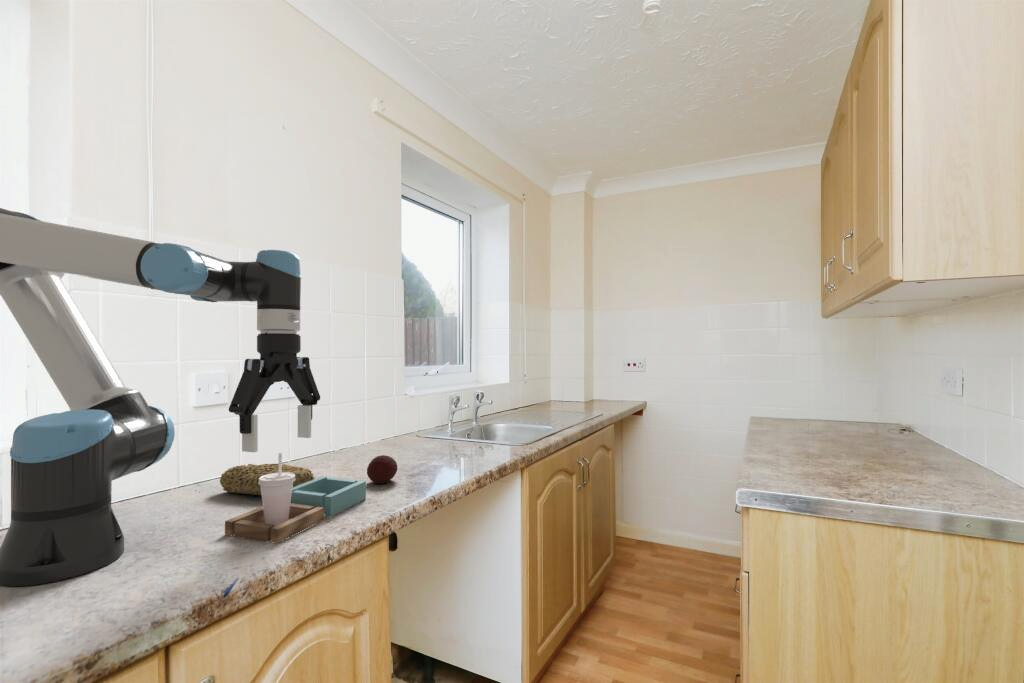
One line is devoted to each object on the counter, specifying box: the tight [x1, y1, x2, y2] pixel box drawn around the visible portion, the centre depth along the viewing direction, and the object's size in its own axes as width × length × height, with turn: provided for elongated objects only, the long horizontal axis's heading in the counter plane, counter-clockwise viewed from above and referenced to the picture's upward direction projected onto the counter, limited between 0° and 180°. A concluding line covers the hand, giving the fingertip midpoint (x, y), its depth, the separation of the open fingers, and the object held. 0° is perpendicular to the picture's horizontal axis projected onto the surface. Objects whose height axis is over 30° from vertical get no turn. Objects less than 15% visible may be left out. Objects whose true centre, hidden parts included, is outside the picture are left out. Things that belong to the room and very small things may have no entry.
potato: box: [366, 454, 398, 485], centre depth 123 cm, size 7×8×7 cm
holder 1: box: [224, 503, 325, 544], centre depth 92 cm, size 12×12×2 cm
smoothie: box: [258, 452, 295, 527], centre depth 92 cm, size 6×6×14 cm
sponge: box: [219, 463, 316, 496], centre depth 114 cm, size 13×8×20 cm
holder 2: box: [291, 476, 367, 517], centre depth 106 cm, size 12×12×4 cm
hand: (279, 444), depth 92 cm, fingers open, 13 cm apart
